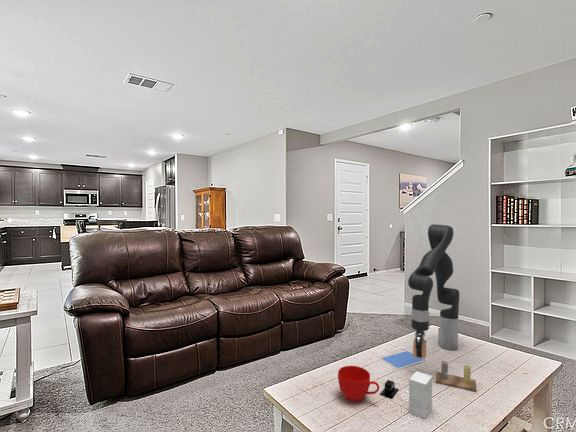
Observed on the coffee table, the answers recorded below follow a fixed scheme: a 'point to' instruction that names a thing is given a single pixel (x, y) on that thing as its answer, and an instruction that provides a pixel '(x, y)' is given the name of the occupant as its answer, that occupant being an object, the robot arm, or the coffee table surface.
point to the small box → (420, 394)
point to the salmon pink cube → (422, 349)
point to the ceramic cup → (355, 382)
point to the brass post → (467, 375)
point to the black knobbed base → (389, 390)
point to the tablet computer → (402, 360)
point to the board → (453, 379)
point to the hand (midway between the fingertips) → (419, 354)
